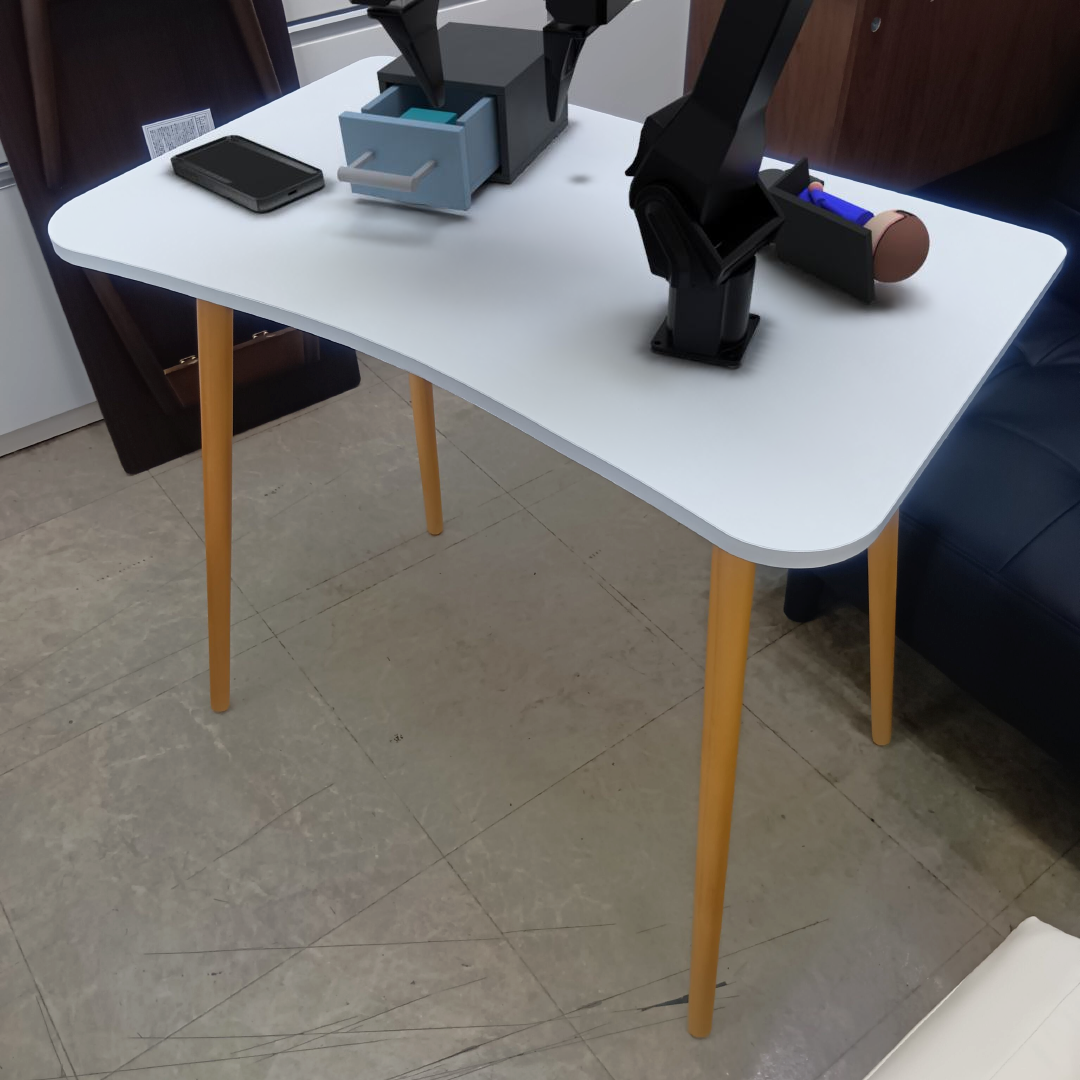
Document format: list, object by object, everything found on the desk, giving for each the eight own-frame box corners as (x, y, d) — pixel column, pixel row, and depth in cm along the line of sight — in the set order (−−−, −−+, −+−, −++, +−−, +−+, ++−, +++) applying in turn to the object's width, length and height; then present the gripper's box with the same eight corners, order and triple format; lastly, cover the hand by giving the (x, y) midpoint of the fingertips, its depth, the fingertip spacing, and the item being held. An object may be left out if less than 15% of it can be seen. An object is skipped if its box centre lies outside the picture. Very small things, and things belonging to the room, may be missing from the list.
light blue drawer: (440, 236, 80) (431, 155, 75) (323, 216, 84) (307, 137, 79) (527, 149, 92) (524, 74, 87) (421, 135, 96) (412, 62, 91)
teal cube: (439, 184, 85) (433, 132, 82) (394, 177, 86) (386, 126, 83) (461, 163, 88) (457, 113, 85) (417, 157, 89) (411, 107, 86)
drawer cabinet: (510, 184, 89) (504, 86, 83) (390, 166, 93) (376, 71, 87) (568, 124, 98) (567, 32, 92) (457, 110, 102) (449, 21, 96)
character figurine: (781, 227, 82) (926, 302, 73) (718, 248, 78) (861, 328, 70) (801, 133, 76) (959, 200, 68) (734, 150, 73) (891, 224, 64)
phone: (233, 133, 97) (327, 171, 89) (236, 144, 98) (329, 183, 90) (164, 159, 93) (257, 202, 85) (168, 170, 94) (260, 214, 86)
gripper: (665, -168, 62) (654, 87, 72) (406, -175, 67) (432, 63, 78) (605, -133, 54) (602, 145, 65) (321, -144, 60) (362, 114, 71)
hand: (496, 113), depth 70 cm, fingers open, 9 cm apart
